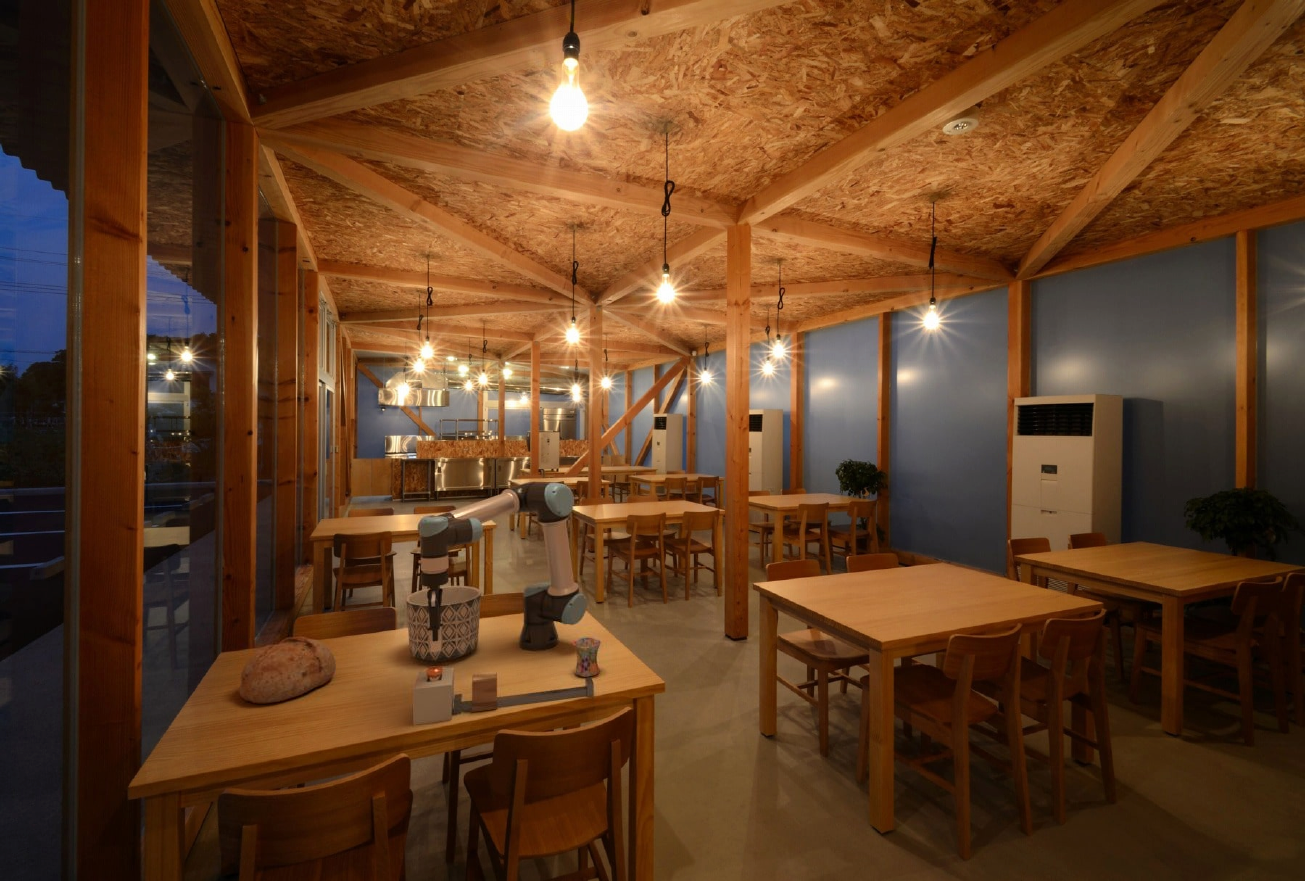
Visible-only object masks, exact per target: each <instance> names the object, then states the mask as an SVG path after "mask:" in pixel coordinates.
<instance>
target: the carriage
mask: <svg viewBox="0 0 1305 881" xmlns="http://www.w3.org/2000/svg"><path fill="white" fill-rule="evenodd" d="M471 681H472V682H471V701H472V711H471V712H472V713H473V712H482V711H490V710H497V709H498V708H497V697H498V673H497V671H490V672H489V671H487V672H479V673H473V674H472V678H471Z"/></svg>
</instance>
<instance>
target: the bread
mask: <svg viewBox="0 0 1305 881" xmlns="http://www.w3.org/2000/svg"><path fill="white" fill-rule="evenodd" d="M336 664H337V663H336V658H335V656H334V654H333V653H332V650H330V649H329V647H328V646H327V645H326V644H324V643H323V642H321V641H320V640H318V639H312V638H309V637H306V636H295V637H294V636H293V637H291V636H289V637H286V638H284V639H282V640H281V641H280V642H278V644H267V645H265V646H264V647H262V648H261V649H259V650H258V651H257V652H255V653H254V654H253V655H252V656H251V657H250V658H249V659H248V660H247V662H246V664H245V665H244V667H243V669H242V671H241V672H240V673H241V674H240V685H239V691H238V692H239V695H240V696H241V698H243V700H244V701H246V702H251V703H253V704H275V703H279V702H283V701H286V700H290V699H294V698H295V697H298V696H301V695H303V694H305V693H307V692H310V691H311V690H314V689H315V688H317V687H320V686H323V685H325V684H326V683H328V681H330V680H331V679H332V678H333V676H334V675H335V672H336V668H337V665H336Z"/></svg>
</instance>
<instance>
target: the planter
mask: <svg viewBox="0 0 1305 881" xmlns="http://www.w3.org/2000/svg"><path fill="white" fill-rule="evenodd" d="M440 588H441V589H442V588H443V593H442V603H441V622H440V623H441V624H442V623H443V626H440V627H441V651H436V652H431V642H430V631H428V628H429V627H430V621H429V607H428V598H427V592H428V590H430V587H429V588H426V589H422V590H418V591H415V592H412V593H411V594H409V595H407V597H406V599H405V600H406V601H405V602H406V615H407V616H406V617H407V630H408V645H409V646H408V647H409V654H410V655H411V656H412V657H414V659H418V660H422V661H428V662H433V663H440V662H442V663H443V662H448V661H453V660H456V659H459V658H461V657H463V656H465V655H467V654H470V653H471V652H473V651H474V650H475V649H476V648H477V646H478V644H479V633H480V631H479V630H480V629H479V628H480V618H481V617H480V616H481V602H482V601H481V600H482V591H481V590H480V589H479V588H477V587H473V586H467V585H448V586H447V585H442V586H440Z"/></svg>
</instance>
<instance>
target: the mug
mask: <svg viewBox="0 0 1305 881" xmlns="http://www.w3.org/2000/svg"><path fill="white" fill-rule="evenodd" d="M572 644H573V647H574V649H575V654H576V666H575V668H574V671H573V672H574V674H575V675H577V676H579V677H584V678H587V677H588V678H589V677H593V676H596V675H598V673H599V672H600V668H599V665H598V658H597V657H598V652H599V651H598V650H599V648H600V646H601V640H600V639H599V638H596V637H591V636H590V637H581V638H577V639H575V640H574V641H573V643H572Z"/></svg>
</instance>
